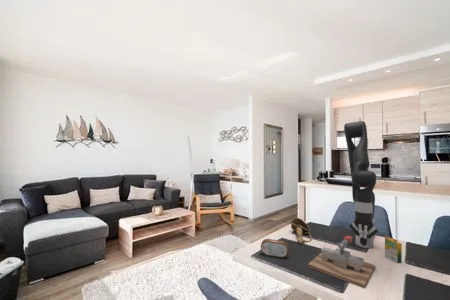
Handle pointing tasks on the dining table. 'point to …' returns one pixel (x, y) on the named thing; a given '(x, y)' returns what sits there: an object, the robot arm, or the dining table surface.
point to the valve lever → (344, 243)
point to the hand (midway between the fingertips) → (363, 244)
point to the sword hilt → (300, 229)
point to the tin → (275, 248)
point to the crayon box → (393, 249)
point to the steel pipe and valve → (342, 258)
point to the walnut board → (343, 271)
